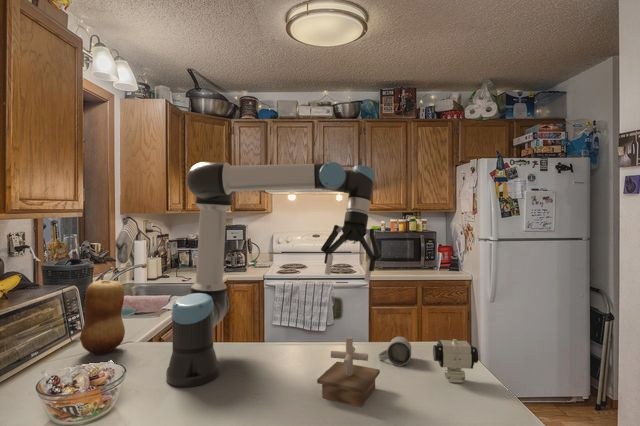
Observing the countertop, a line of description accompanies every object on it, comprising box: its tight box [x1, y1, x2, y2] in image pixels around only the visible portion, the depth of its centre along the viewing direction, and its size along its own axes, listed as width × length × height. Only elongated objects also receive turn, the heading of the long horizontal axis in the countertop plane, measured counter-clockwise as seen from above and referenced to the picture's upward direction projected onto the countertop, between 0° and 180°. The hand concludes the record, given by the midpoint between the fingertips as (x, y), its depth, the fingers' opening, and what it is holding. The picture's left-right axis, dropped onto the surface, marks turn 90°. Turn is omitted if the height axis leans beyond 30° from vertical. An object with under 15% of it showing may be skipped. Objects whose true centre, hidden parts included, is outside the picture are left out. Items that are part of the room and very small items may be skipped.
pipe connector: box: [330, 335, 369, 376], centre depth 102 cm, size 10×10×10 cm
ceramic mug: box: [378, 336, 412, 367], centre depth 123 cm, size 11×8×8 cm
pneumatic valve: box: [432, 338, 479, 384], centre depth 108 cm, size 6×12×12 cm, turn 83°
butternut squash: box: [79, 279, 126, 356], centre depth 131 cm, size 14×13×25 cm
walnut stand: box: [316, 361, 381, 408], centre depth 102 cm, size 13×13×5 cm
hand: (346, 278), depth 119 cm, fingers open, 13 cm apart
